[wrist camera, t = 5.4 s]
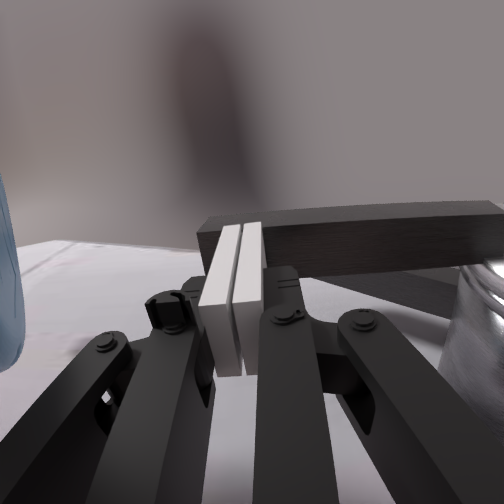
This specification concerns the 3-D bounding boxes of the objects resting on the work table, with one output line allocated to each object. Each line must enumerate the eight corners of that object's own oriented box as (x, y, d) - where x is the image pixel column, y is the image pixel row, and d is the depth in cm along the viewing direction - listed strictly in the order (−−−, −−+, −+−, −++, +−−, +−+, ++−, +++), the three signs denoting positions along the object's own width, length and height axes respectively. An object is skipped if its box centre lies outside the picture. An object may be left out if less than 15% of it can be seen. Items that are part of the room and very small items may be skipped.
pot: (356, 560, 10) (408, 500, 6) (308, 309, 34) (301, 210, 30) (621, 410, 8) (678, 301, 4) (498, 276, 32) (510, 193, 28)
